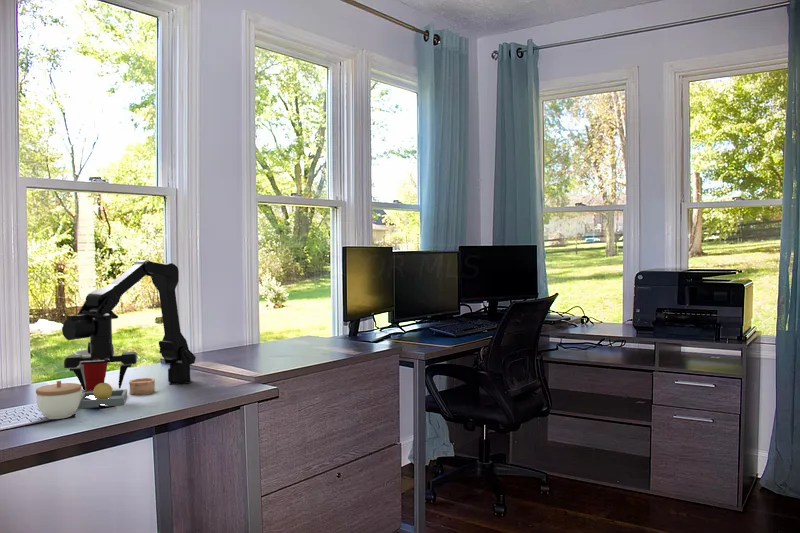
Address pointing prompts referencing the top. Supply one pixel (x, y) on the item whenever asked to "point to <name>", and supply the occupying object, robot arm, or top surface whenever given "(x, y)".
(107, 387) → the ball
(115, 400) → the tray
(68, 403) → the lidded jar
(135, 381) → the bowl
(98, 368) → the plastic cup
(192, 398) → the top surface
